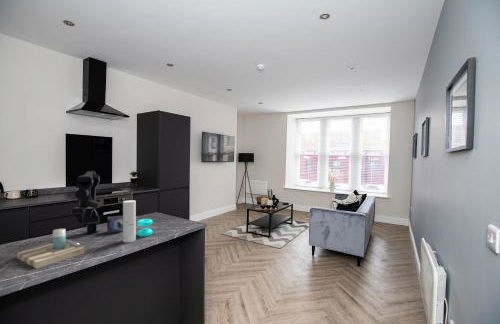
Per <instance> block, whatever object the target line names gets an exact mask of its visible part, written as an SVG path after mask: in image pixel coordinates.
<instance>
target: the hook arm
mask: <svg viewBox="0 0 500 324" xmlns="http://www.w3.org/2000/svg"><path fill="white" fill-rule="evenodd" d="M66 243H69V245H73V247H75V246H77V247H79V246H81V244H80V243H78V242H75V241H73V240H70V239H68V238H66Z"/></svg>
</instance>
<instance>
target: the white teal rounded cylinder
mask: <svg viewBox="0 0 500 324" xmlns="http://www.w3.org/2000/svg"><path fill="white" fill-rule="evenodd" d="M66 234H67V233H66V228H56V229H53V230H52V244H53V252H52V253H55V252H58V251H62V250H65V249H67V248H66V239H67V235H66Z"/></svg>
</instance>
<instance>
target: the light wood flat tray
mask: <svg viewBox="0 0 500 324" xmlns="http://www.w3.org/2000/svg"><path fill="white" fill-rule="evenodd" d="M16 254H17V257H16V258H17V260H19V261H22V262H23V263H25V264H27V265H29V266H31V267H33V268H34V269H39V268H42V267H45V266H49V265H52V264H54V263H57V262H61V261H64V260H67V259H71V258H73V257H77V256H81V255H83V254H85V247H84V246H81V245H80V246H79V247H77V246H73V247H70V244H69V243H66V249H65V250H62V251H58V252H55V253H53V243H50V244H46V245H42V246H38V247H34V248H30V249H26V250H23V251H19V252H17V253H16Z"/></svg>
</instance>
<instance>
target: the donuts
mask: <svg viewBox="0 0 500 324" xmlns="http://www.w3.org/2000/svg"><path fill="white" fill-rule="evenodd" d="M153 223H154V221H153V220H152V219H151V218H142V219H139V220H138V221H137V222H136V225H137V226H138V227H142V229H139V230H137V232H136V236H138V237H140V238H141V237H142V238H144V237H149V236H151V235H152V234H153V230H152V229H151V228H148V227H150V226H151V225H152V224H153ZM145 227H147V228H145Z"/></svg>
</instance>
